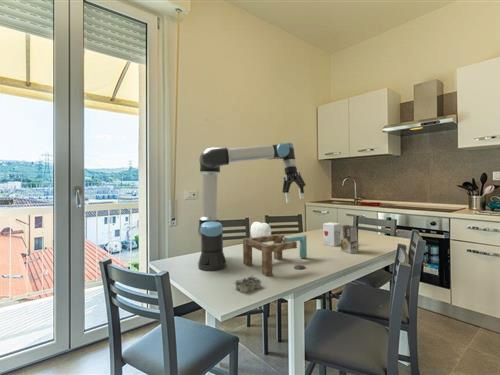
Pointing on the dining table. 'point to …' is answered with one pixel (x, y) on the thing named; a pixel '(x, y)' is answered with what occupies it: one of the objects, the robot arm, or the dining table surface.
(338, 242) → the supplement box
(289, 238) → the folding leg
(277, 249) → the stool frame
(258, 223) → the decorative heart
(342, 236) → the coffee box
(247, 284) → the grey knobbly lump
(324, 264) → the dining table surface
